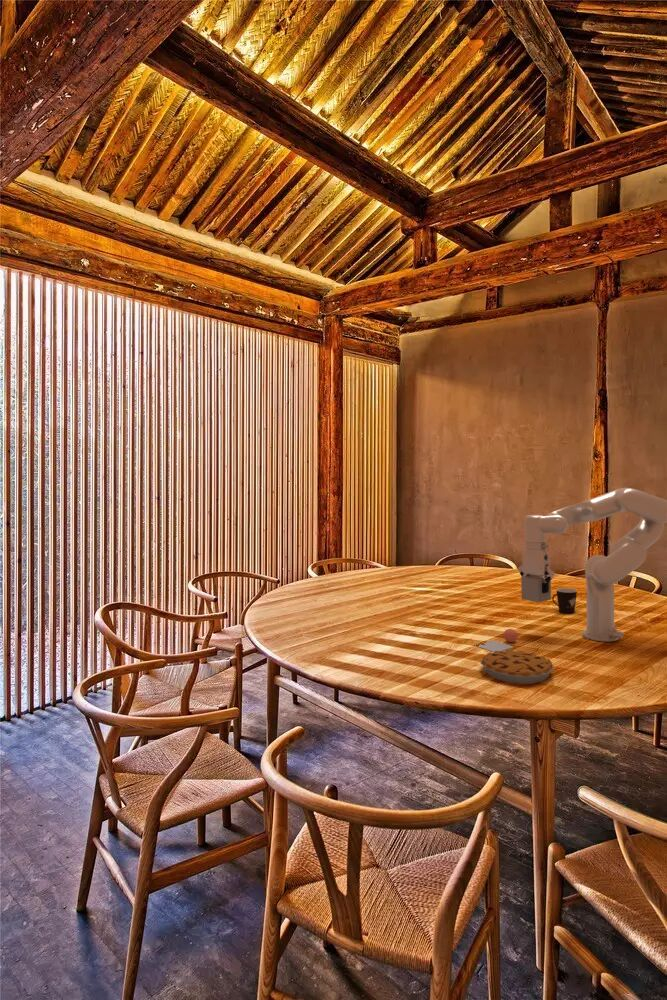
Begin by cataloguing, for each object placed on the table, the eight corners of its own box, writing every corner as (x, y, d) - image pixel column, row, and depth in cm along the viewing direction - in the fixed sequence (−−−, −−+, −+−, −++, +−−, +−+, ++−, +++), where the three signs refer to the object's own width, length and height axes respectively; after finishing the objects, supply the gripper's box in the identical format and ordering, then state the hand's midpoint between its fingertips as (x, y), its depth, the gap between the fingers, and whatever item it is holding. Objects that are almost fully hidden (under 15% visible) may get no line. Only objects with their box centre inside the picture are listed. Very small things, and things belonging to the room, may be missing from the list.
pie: (567, 675, 171) (567, 659, 171) (525, 692, 158) (525, 676, 158) (509, 657, 189) (509, 643, 188) (467, 671, 176) (467, 656, 176)
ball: (520, 642, 203) (520, 629, 203) (511, 644, 201) (511, 631, 201) (509, 639, 208) (509, 626, 207) (500, 641, 205) (500, 628, 205)
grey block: (551, 599, 210) (550, 577, 210) (538, 602, 206) (537, 579, 206) (534, 596, 217) (534, 574, 216) (521, 598, 213) (521, 576, 212)
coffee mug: (573, 609, 248) (573, 588, 248) (579, 614, 240) (579, 592, 239) (547, 609, 249) (547, 588, 249) (552, 614, 241) (552, 592, 240)
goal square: (513, 647, 198) (513, 646, 198) (495, 652, 193) (495, 652, 193) (492, 640, 206) (492, 640, 206) (474, 645, 201) (474, 645, 201)
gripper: (561, 547, 205) (561, 593, 206) (523, 543, 220) (524, 586, 221) (548, 549, 201) (549, 596, 202) (510, 545, 216) (511, 588, 217)
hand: (536, 590), depth 211 cm, fingers closed on grey block, 7 cm apart
